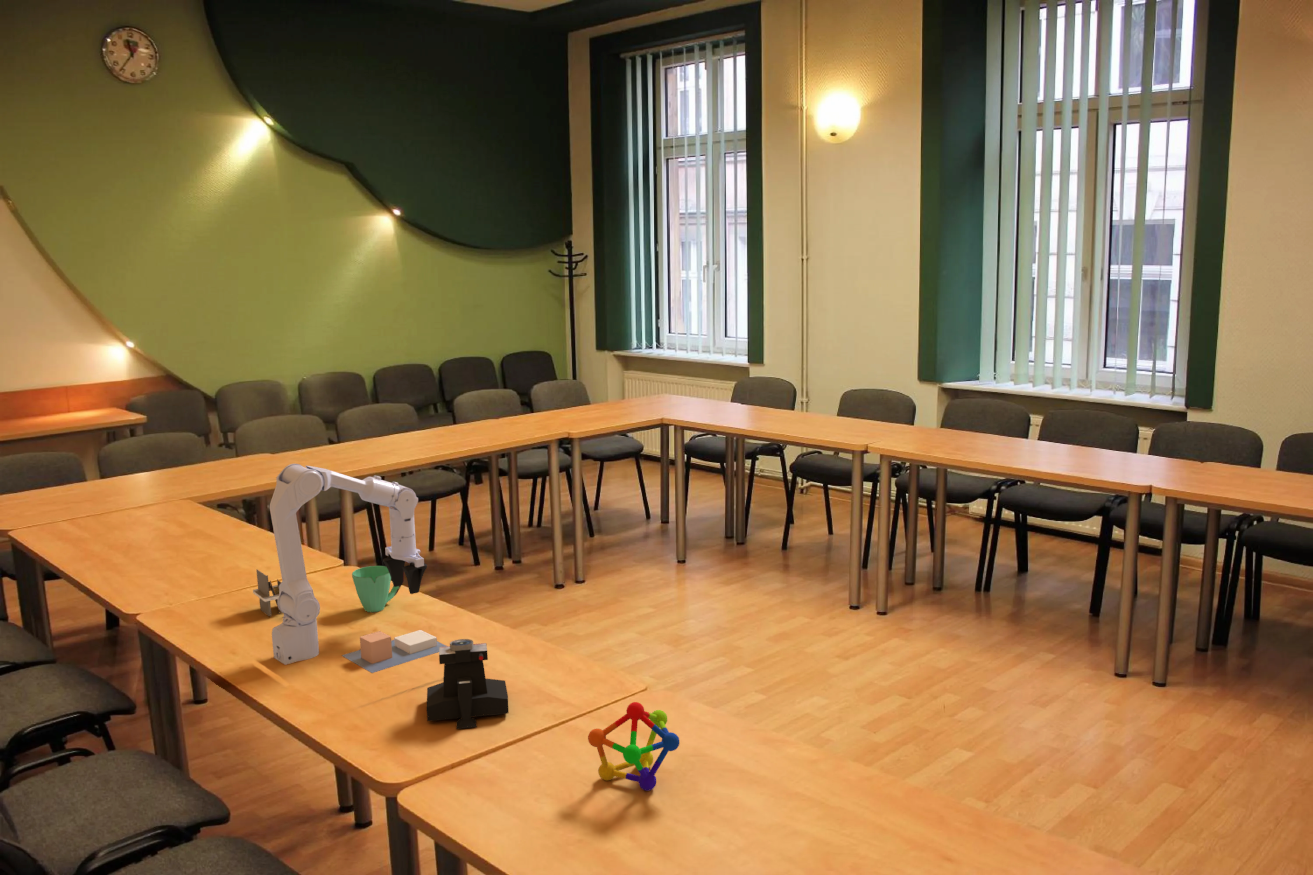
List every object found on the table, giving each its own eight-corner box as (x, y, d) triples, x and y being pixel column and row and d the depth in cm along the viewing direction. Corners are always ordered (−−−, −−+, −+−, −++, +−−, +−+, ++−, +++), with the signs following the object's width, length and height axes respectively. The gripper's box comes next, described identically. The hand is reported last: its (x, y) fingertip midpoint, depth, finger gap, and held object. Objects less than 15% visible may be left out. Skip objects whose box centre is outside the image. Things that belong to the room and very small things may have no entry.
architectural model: (229, 609, 281) (225, 568, 279) (294, 595, 291) (290, 555, 289) (253, 629, 267) (250, 586, 265) (320, 614, 277) (317, 572, 275)
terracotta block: (372, 663, 241) (370, 642, 240) (361, 657, 245) (359, 636, 244) (392, 657, 245) (391, 636, 244) (381, 651, 248) (379, 630, 247)
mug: (371, 618, 272) (369, 580, 270) (346, 610, 278) (343, 573, 276) (416, 601, 284) (414, 565, 282) (391, 594, 289) (389, 558, 287)
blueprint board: (372, 676, 237) (371, 664, 236) (341, 658, 247) (340, 646, 246) (451, 651, 250) (450, 639, 249) (419, 635, 260) (418, 624, 259)
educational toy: (638, 815, 181) (630, 734, 177) (588, 788, 190) (578, 710, 186) (702, 774, 191) (695, 696, 187) (651, 750, 200) (644, 676, 196)
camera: (502, 630, 226) (506, 651, 211) (505, 698, 227) (510, 723, 212) (424, 637, 223) (423, 658, 208) (428, 705, 224) (427, 731, 209)
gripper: (433, 537, 258) (436, 592, 260) (402, 526, 268) (405, 578, 271) (407, 543, 253) (410, 599, 256) (376, 531, 263) (379, 585, 266)
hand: (406, 589), depth 263 cm, fingers open, 7 cm apart
